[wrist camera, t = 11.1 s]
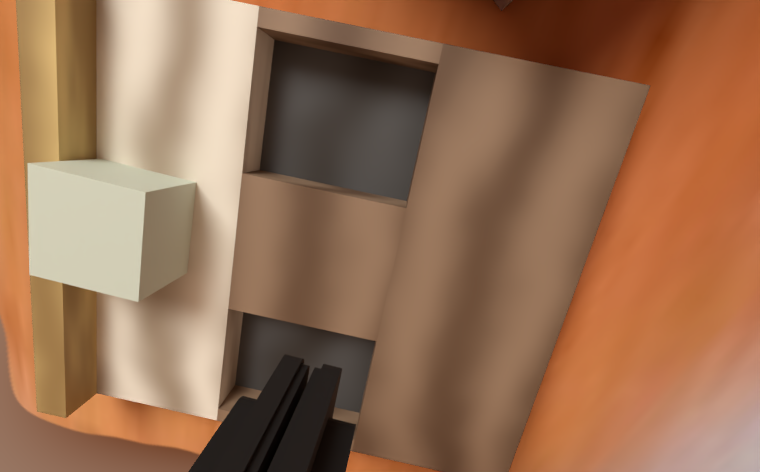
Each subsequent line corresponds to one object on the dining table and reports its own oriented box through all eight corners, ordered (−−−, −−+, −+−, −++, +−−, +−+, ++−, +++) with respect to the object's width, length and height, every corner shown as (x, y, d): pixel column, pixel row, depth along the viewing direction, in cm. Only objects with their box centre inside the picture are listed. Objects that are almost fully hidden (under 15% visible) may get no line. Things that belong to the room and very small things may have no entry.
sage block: (196, 182, 22) (145, 192, 18) (187, 272, 24) (138, 302, 20) (101, 158, 22) (27, 163, 18) (98, 250, 24) (29, 274, 20)
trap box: (618, 92, 22) (685, 77, 17) (494, 451, 29) (513, 520, 24) (104, -12, 23) (13, -59, 18) (103, 363, 30) (36, 411, 25)
